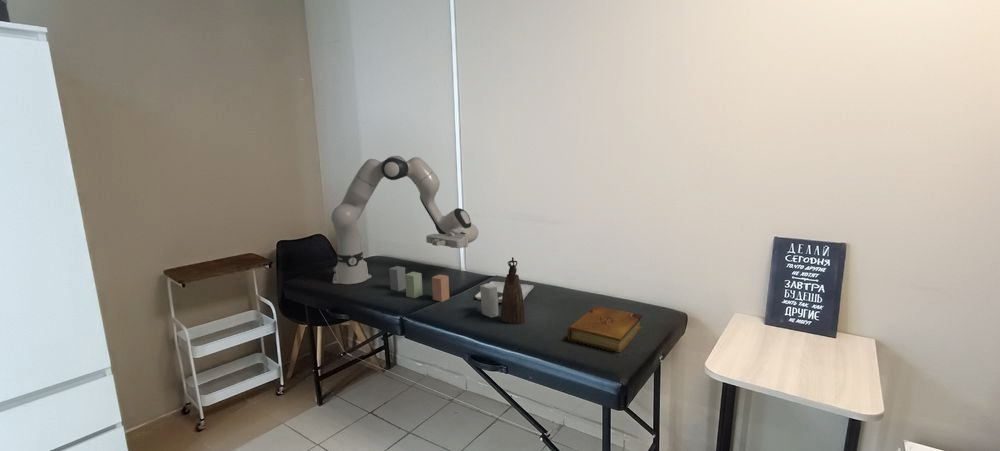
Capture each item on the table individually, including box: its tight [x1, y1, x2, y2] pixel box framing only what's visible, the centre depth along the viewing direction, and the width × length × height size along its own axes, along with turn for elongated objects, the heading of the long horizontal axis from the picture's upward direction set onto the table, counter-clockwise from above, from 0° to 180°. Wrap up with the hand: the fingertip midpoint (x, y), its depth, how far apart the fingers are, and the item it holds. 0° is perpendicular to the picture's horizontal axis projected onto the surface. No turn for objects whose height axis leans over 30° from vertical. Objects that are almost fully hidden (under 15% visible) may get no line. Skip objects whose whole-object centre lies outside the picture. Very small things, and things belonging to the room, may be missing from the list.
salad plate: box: [474, 280, 535, 304], centre depth 205 cm, size 21×21×3 cm
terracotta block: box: [431, 274, 450, 303], centre depth 200 cm, size 5×5×10 cm
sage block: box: [405, 271, 423, 299], centre depth 205 cm, size 5×5×10 cm
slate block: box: [388, 265, 406, 292], centre depth 214 cm, size 5×5×10 cm
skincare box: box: [479, 282, 499, 318], centre depth 184 cm, size 6×4×12 cm
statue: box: [500, 257, 526, 325], centre depth 176 cm, size 9×8×25 cm
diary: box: [567, 305, 643, 354], centre depth 165 cm, size 23×19×6 cm
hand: (434, 243), depth 214 cm, fingers closed
